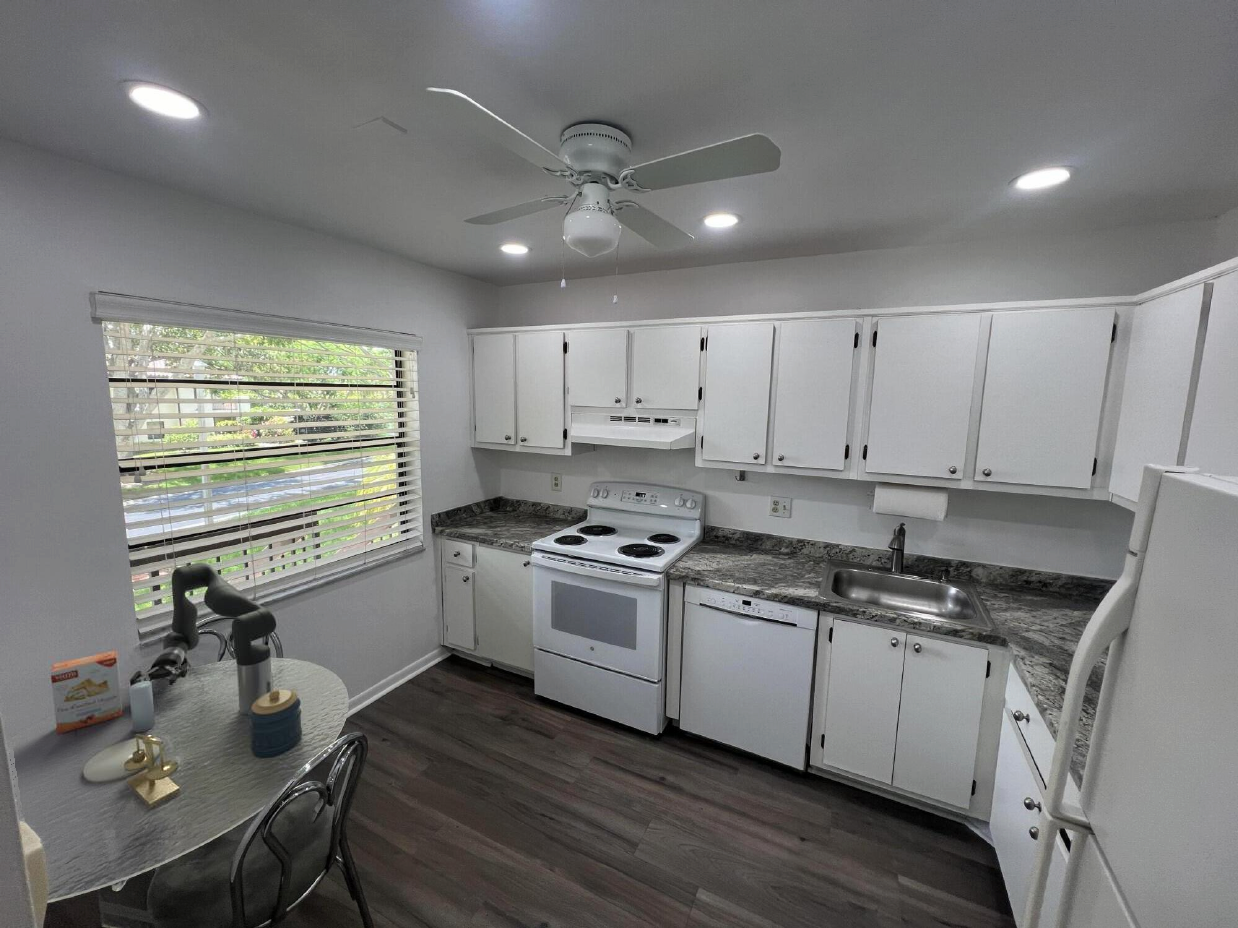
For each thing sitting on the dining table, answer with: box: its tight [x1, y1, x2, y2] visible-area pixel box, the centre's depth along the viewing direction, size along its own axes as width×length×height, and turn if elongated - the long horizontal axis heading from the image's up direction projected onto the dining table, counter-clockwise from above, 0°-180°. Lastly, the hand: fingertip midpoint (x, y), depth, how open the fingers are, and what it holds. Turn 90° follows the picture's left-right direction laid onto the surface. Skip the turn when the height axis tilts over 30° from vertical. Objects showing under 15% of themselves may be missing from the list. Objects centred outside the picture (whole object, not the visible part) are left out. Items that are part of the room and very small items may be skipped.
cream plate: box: [82, 736, 164, 784], centre depth 141 cm, size 16×16×2 cm
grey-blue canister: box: [128, 680, 156, 733], centre depth 154 cm, size 5×5×14 cm
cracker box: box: [50, 650, 123, 735], centre depth 154 cm, size 14×6×21 cm, turn 133°
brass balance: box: [124, 733, 180, 810], centre depth 131 cm, size 22×6×17 cm, turn 61°
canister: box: [248, 689, 303, 759], centre depth 149 cm, size 13×13×18 cm
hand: (153, 685), depth 163 cm, fingers open, 8 cm apart
